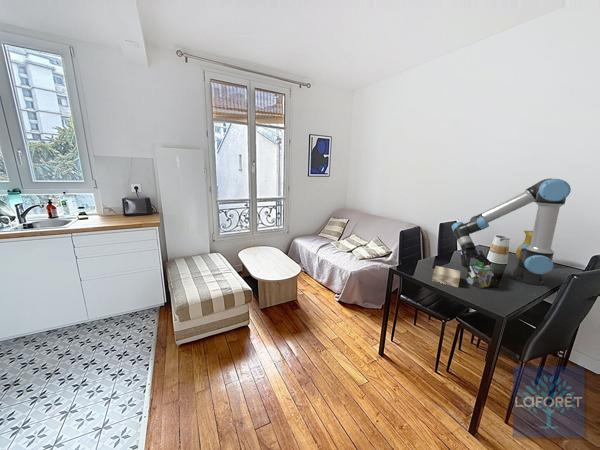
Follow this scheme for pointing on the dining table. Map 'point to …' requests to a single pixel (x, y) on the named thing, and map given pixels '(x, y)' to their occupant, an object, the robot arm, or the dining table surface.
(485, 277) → the chalk box
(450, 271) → the birch block
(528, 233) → the pitcher
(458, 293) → the dining table surface
